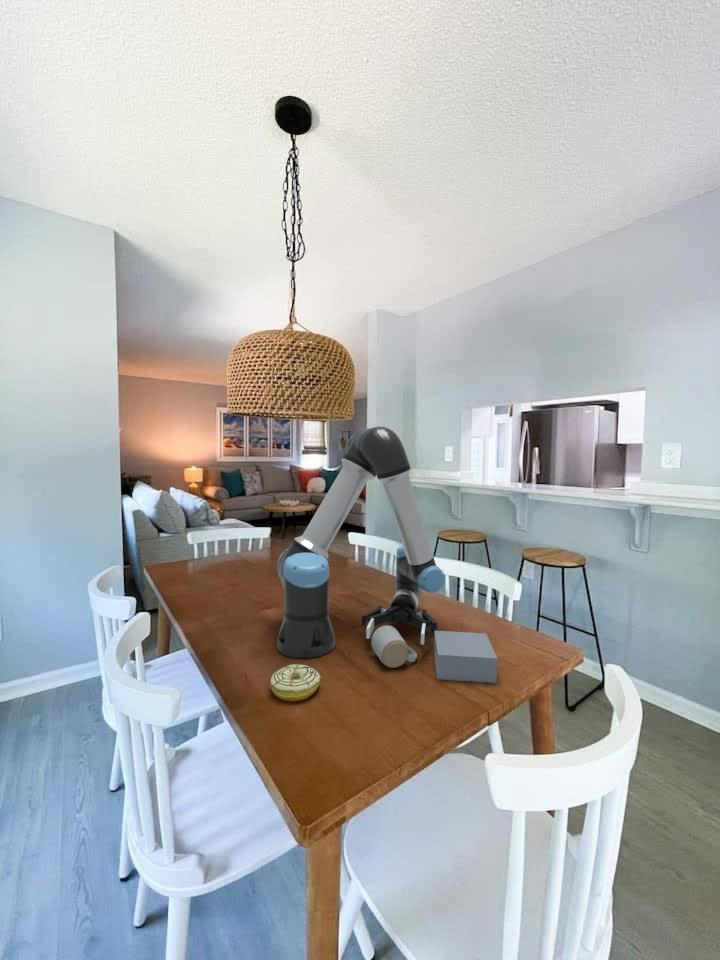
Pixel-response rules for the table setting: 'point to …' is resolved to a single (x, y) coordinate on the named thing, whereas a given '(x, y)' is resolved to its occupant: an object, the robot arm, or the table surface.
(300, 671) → the decorated donut
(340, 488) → the robot arm
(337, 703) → the table surface
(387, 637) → the ceramic mug
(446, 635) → the riser block
